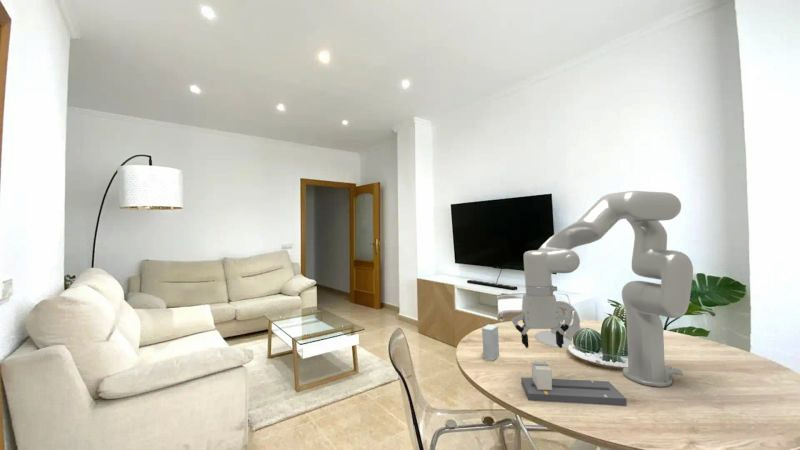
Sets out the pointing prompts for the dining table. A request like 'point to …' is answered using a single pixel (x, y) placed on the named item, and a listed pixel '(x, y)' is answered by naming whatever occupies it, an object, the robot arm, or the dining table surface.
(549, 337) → the ornament
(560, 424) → the dining table surface
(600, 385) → the slider panel
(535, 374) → the fader tab
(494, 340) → the skincare box
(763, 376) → the dining table surface
